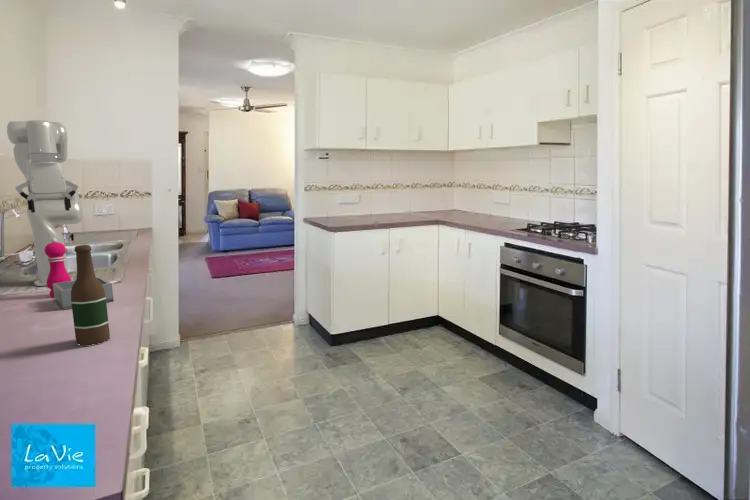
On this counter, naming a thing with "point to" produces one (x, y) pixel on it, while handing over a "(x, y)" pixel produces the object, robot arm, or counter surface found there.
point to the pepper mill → (56, 264)
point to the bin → (64, 289)
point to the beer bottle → (88, 302)
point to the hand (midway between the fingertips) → (50, 211)
